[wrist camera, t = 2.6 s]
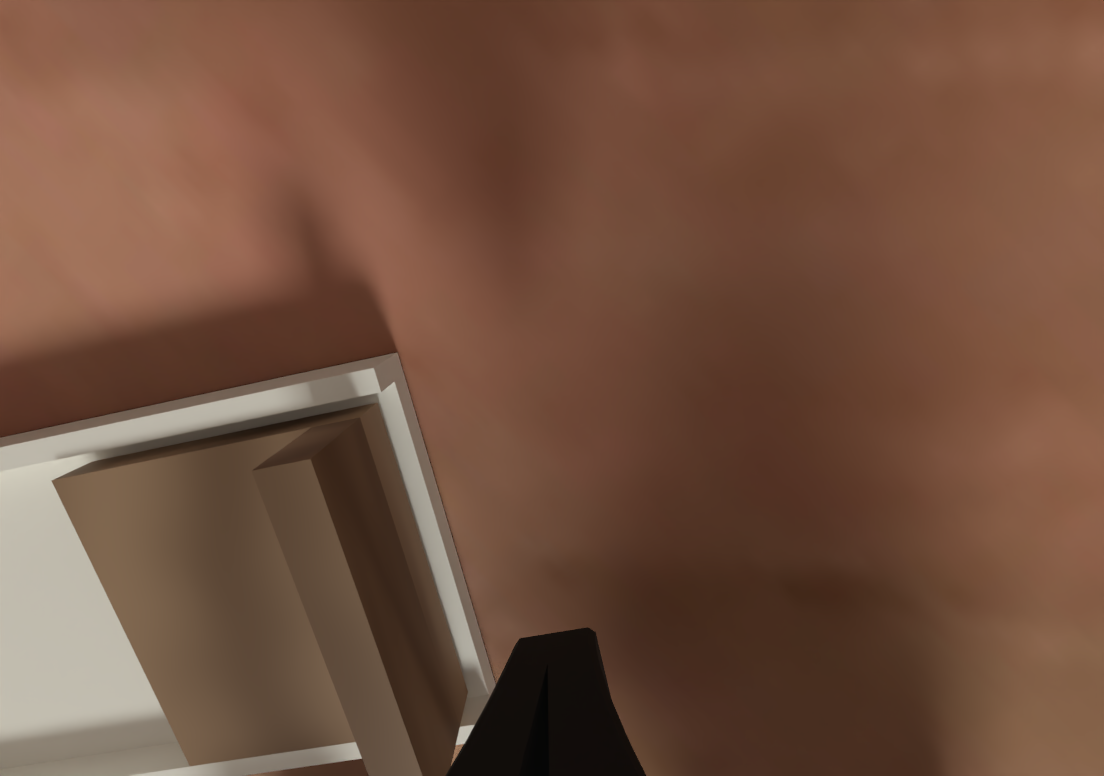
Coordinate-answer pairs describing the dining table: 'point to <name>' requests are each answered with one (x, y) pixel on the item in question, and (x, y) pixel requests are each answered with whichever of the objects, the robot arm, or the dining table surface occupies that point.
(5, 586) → the board
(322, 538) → the cover
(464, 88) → the dining table surface
